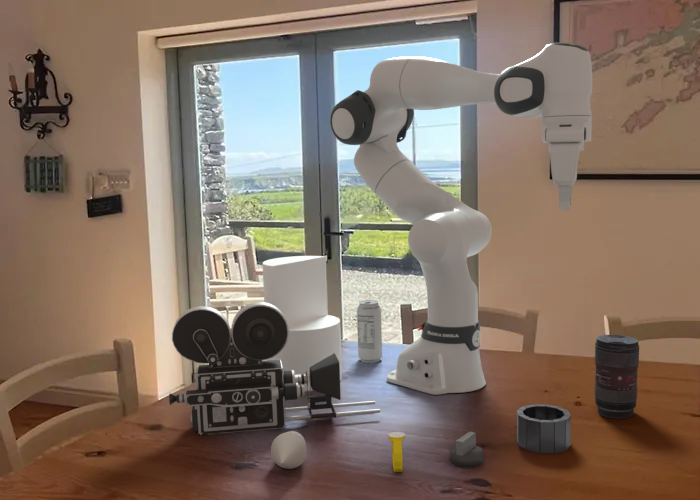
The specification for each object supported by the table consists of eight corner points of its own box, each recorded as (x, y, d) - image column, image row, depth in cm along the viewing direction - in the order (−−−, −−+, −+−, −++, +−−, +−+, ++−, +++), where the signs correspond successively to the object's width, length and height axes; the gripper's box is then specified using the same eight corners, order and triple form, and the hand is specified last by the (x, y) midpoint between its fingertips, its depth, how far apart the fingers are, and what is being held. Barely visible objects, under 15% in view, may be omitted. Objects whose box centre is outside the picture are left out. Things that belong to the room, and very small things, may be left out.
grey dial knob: (443, 463, 126) (443, 438, 125) (459, 452, 130) (459, 428, 130) (473, 471, 122) (473, 445, 122) (488, 459, 127) (488, 434, 126)
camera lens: (641, 421, 142) (642, 344, 140) (596, 419, 143) (597, 343, 141) (634, 406, 150) (635, 333, 148) (591, 405, 151) (592, 333, 149)
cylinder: (252, 382, 173) (246, 263, 170) (304, 364, 186) (299, 254, 183) (305, 396, 162) (301, 269, 159) (357, 376, 175) (353, 258, 171)
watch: (407, 476, 121) (406, 441, 120) (390, 477, 121) (389, 441, 120) (404, 461, 127) (403, 427, 126) (388, 461, 127) (387, 428, 126)
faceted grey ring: (509, 446, 132) (509, 415, 131) (529, 430, 139) (529, 401, 138) (558, 457, 126) (558, 425, 126) (577, 440, 134) (577, 410, 133)
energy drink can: (387, 359, 189) (385, 301, 187) (371, 365, 184) (369, 305, 182) (369, 355, 193) (367, 298, 191) (353, 360, 188) (351, 302, 187)
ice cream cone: (279, 491, 117) (291, 466, 132) (308, 465, 116) (318, 444, 131) (254, 460, 117) (269, 439, 132) (283, 435, 117) (295, 417, 132)
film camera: (171, 444, 137) (163, 317, 134) (176, 422, 149) (168, 305, 146) (384, 426, 143) (381, 304, 140) (372, 405, 155) (369, 293, 152)
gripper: (551, 134, 148) (550, 203, 149) (545, 132, 128) (544, 212, 130) (584, 133, 146) (583, 203, 148) (583, 131, 126) (582, 212, 128)
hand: (565, 208), depth 139 cm, fingers open, 8 cm apart
